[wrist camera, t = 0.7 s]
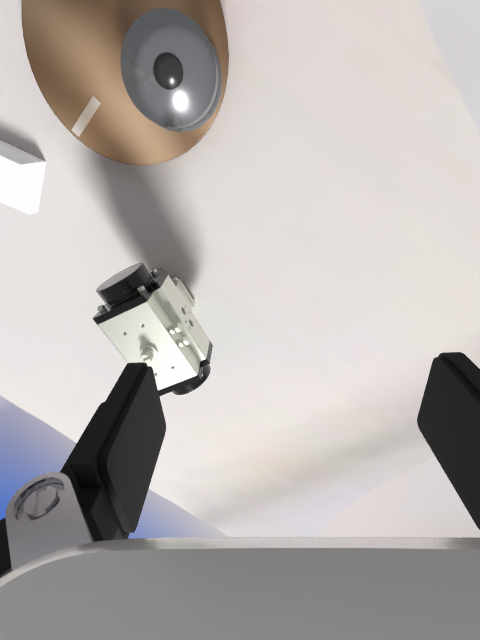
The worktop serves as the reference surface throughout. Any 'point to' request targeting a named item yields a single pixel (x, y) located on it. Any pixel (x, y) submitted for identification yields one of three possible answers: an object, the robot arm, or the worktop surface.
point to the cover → (171, 70)
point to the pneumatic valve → (155, 327)
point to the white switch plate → (20, 178)
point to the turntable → (108, 72)
